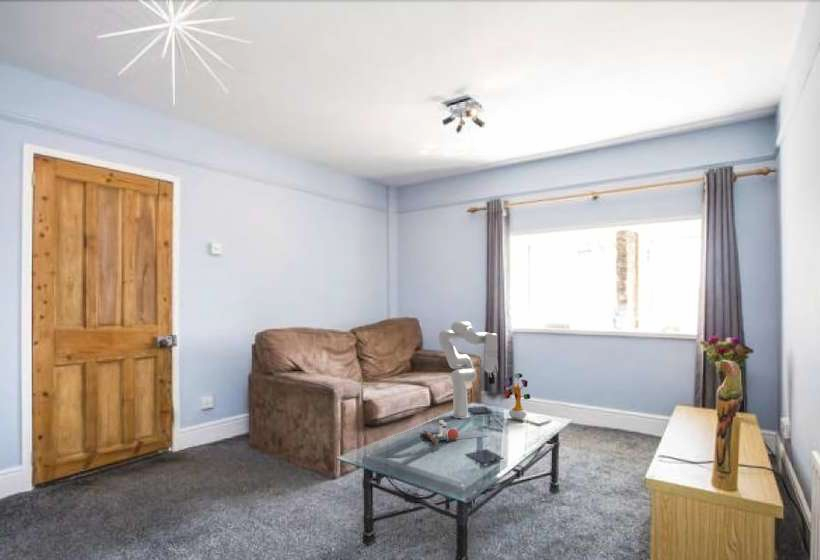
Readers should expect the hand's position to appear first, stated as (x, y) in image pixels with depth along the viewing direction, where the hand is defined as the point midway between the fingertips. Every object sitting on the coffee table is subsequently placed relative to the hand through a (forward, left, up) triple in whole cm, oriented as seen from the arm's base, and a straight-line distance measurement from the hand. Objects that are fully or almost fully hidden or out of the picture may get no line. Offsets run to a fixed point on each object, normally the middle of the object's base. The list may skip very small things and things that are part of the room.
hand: (491, 383), depth 268 cm
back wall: (+8, -42, -27) cm, 51 cm away
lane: (+8, -25, -27) cm, 38 cm away
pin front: (+8, -32, -26) cm, 42 cm away
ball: (+12, -31, -24) cm, 41 cm away
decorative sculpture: (-12, +24, -27) cm, 38 cm away
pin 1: (+6, -35, -27) cm, 45 cm away
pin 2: (+11, -35, -27) cm, 46 cm away
